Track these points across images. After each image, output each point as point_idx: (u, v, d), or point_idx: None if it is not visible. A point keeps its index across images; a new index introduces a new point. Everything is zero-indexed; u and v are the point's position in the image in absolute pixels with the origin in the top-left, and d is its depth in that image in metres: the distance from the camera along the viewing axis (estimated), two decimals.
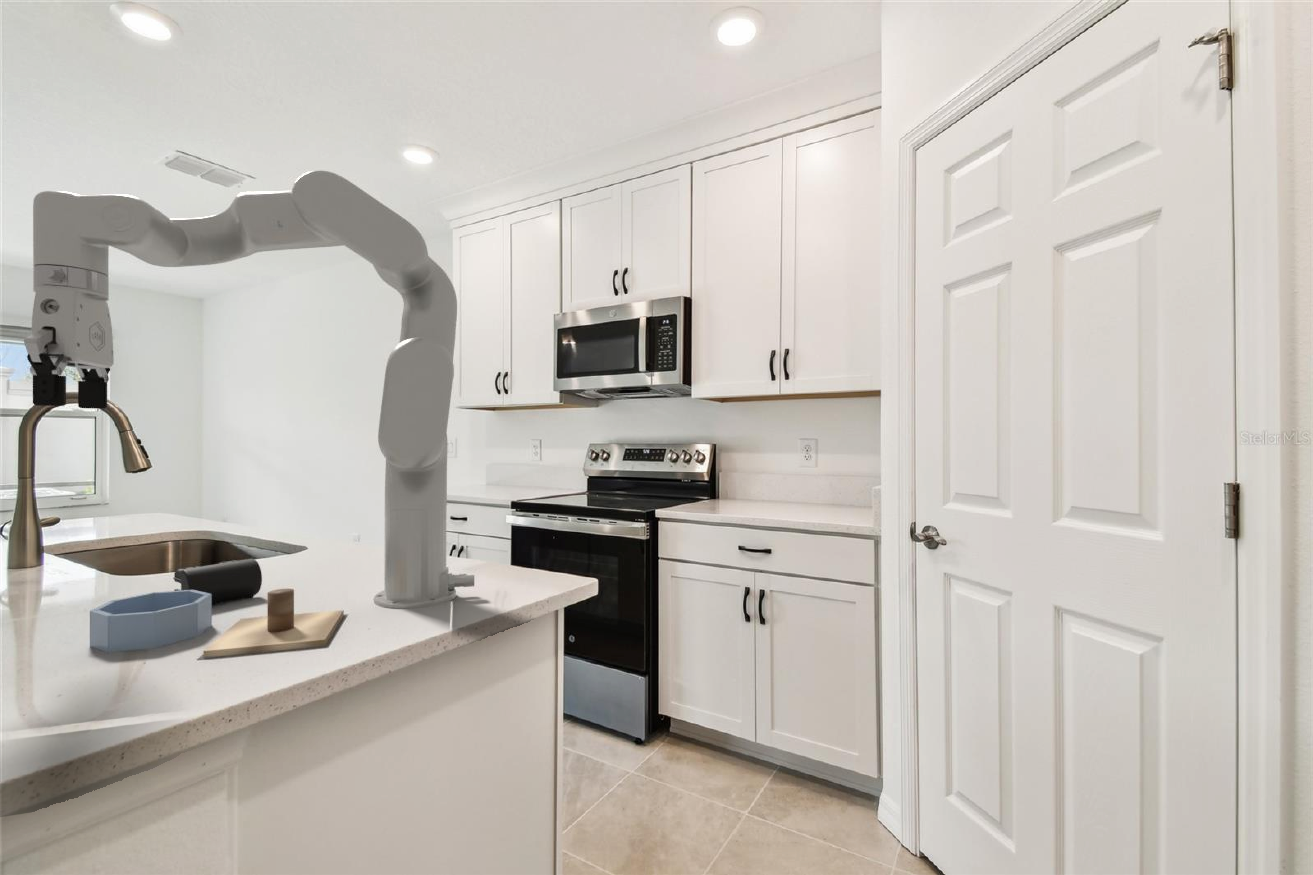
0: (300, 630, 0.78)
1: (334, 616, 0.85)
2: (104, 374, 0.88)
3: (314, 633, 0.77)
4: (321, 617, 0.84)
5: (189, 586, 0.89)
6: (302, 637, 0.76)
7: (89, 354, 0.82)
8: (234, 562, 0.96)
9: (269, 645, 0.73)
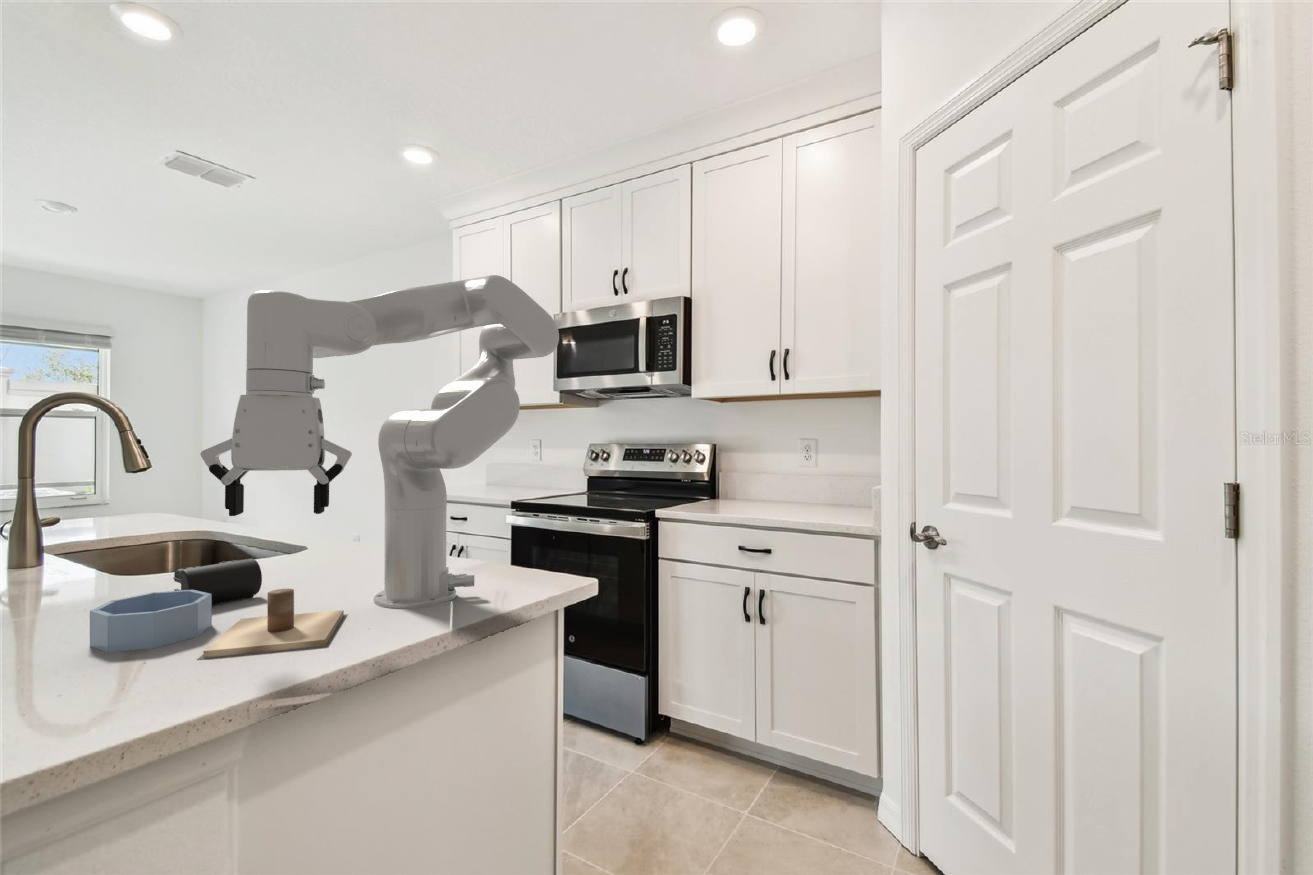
0: (300, 630, 0.78)
1: (334, 616, 0.85)
2: None
3: (314, 633, 0.77)
4: (321, 617, 0.84)
5: (189, 586, 0.89)
6: (302, 637, 0.76)
7: None
8: (234, 562, 0.96)
9: (269, 645, 0.73)
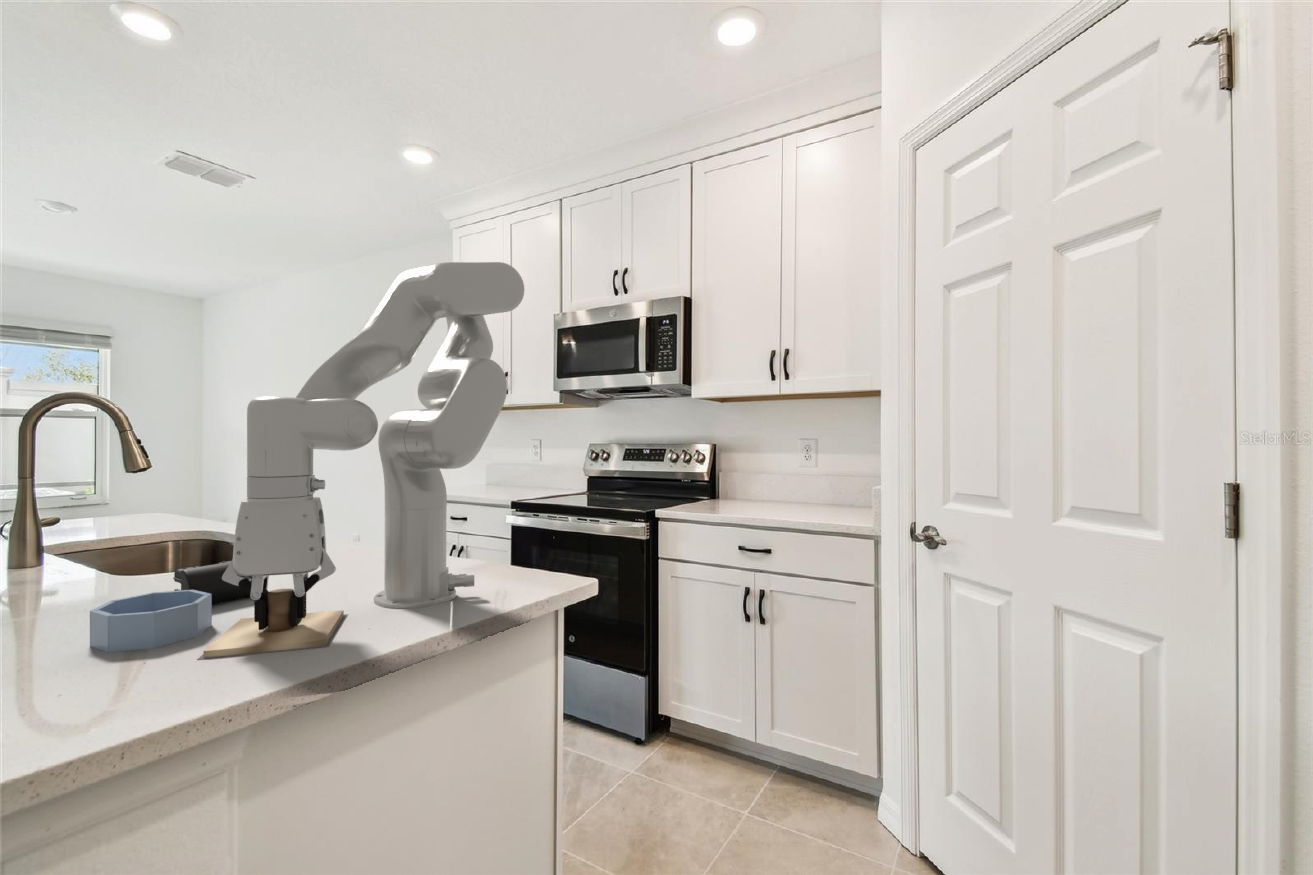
0: (300, 630, 0.78)
1: (334, 616, 0.85)
2: None
3: (314, 633, 0.77)
4: (321, 617, 0.84)
5: (189, 586, 0.89)
6: (302, 638, 0.76)
7: None
8: None
9: (269, 645, 0.73)
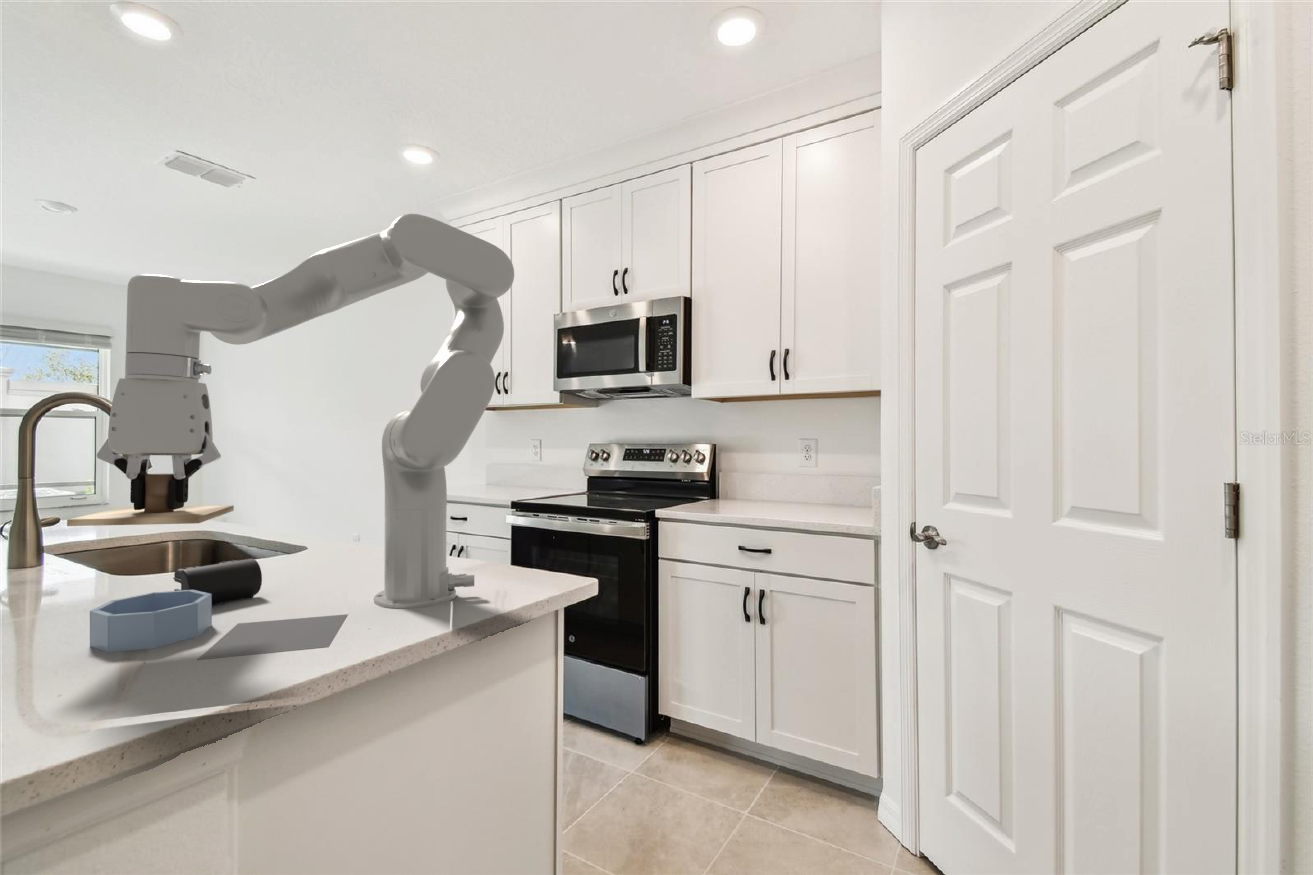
0: (178, 513, 0.77)
1: (221, 507, 0.84)
2: None
3: (191, 514, 0.76)
4: (207, 507, 0.83)
5: (189, 586, 0.89)
6: (176, 515, 0.75)
7: None
8: (234, 562, 0.96)
9: (138, 518, 0.72)
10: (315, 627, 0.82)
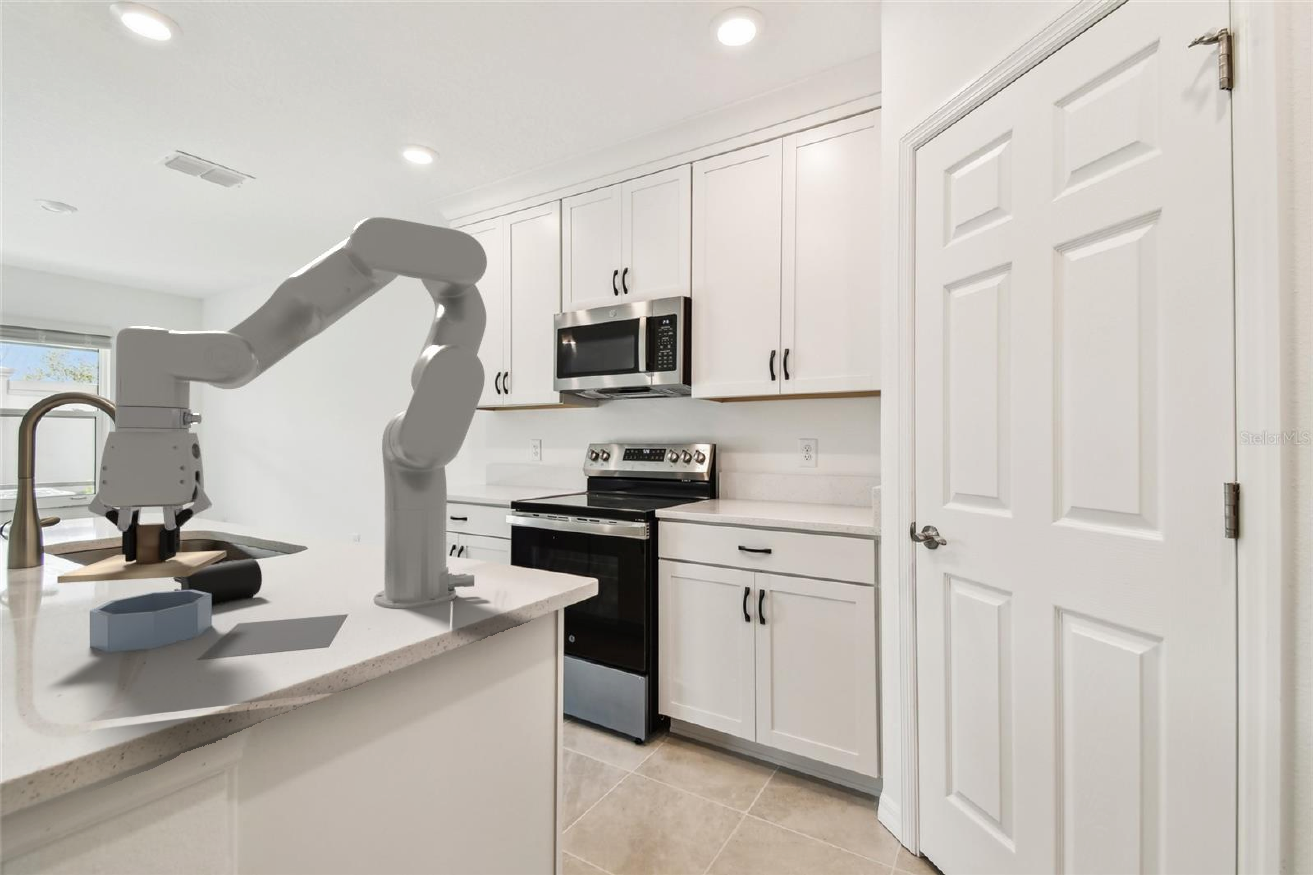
0: (169, 564, 0.78)
1: (213, 554, 0.84)
2: None
3: (181, 565, 0.77)
4: (199, 555, 0.83)
5: (189, 586, 0.89)
6: (166, 568, 0.75)
7: None
8: (234, 562, 0.96)
9: (128, 573, 0.72)
10: (315, 627, 0.82)
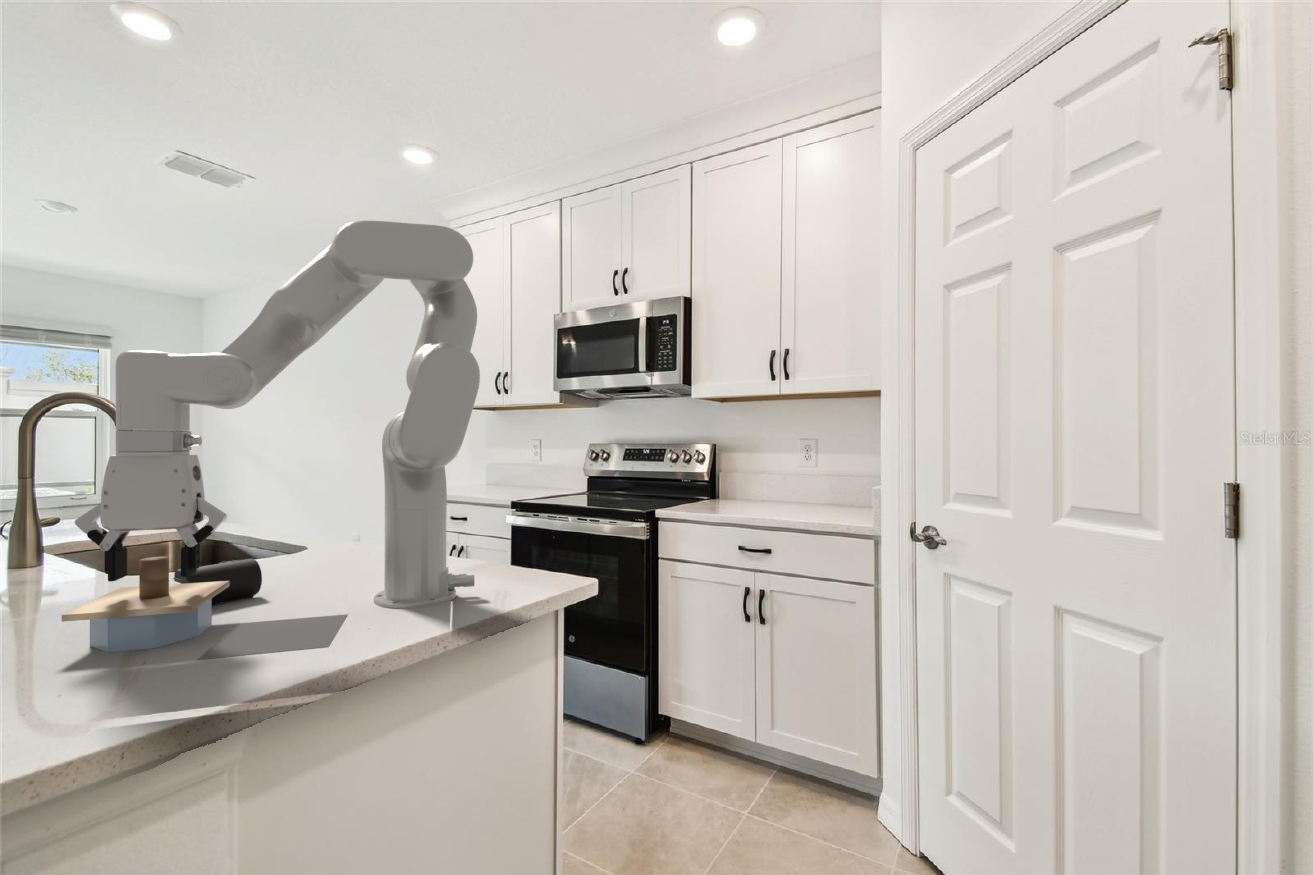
0: (172, 598, 0.78)
1: (216, 585, 0.84)
2: None
3: (185, 600, 0.77)
4: (202, 586, 0.83)
5: None
6: (169, 604, 0.75)
7: None
8: (234, 562, 0.96)
9: (132, 610, 0.73)
10: (315, 627, 0.82)
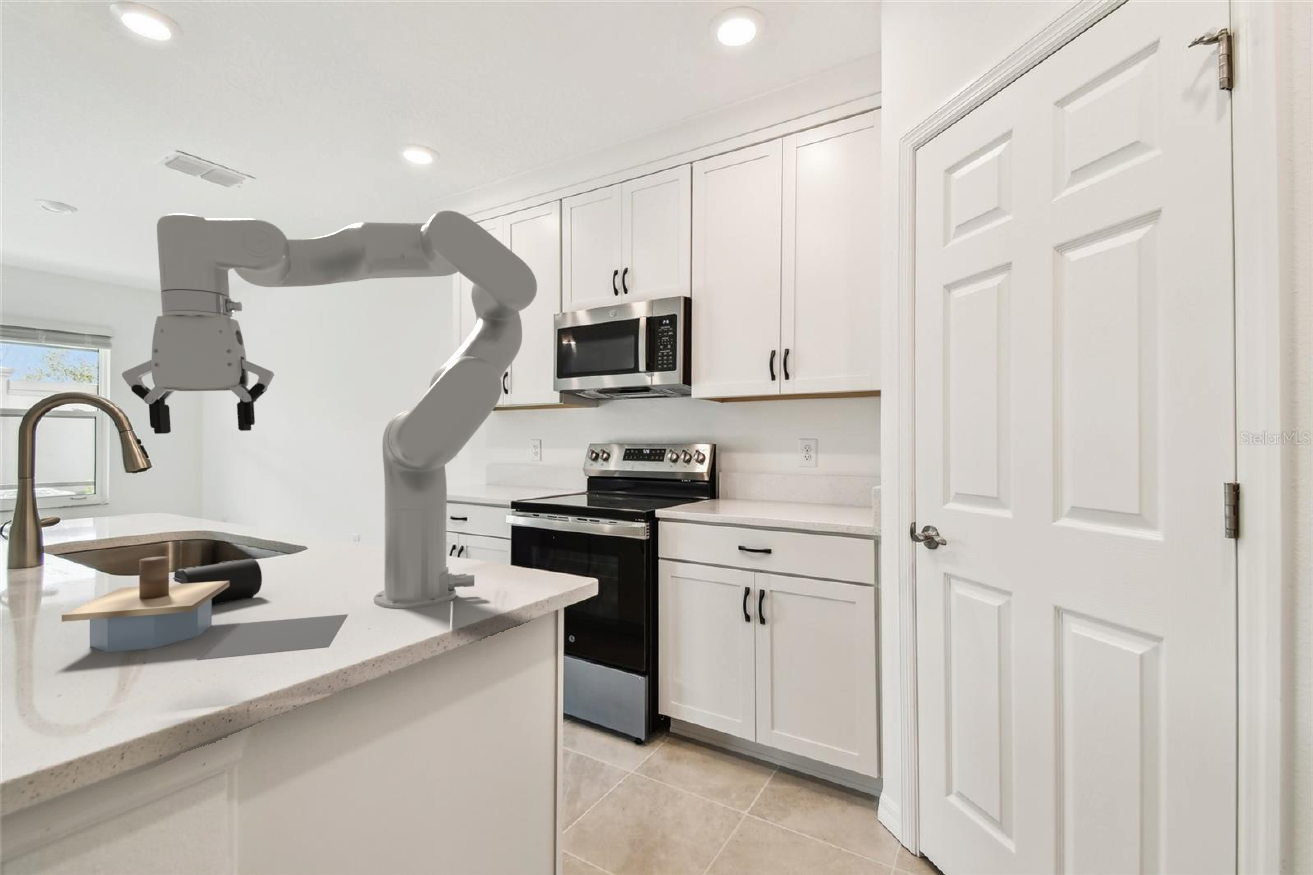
0: (172, 598, 0.78)
1: (216, 585, 0.84)
2: None
3: (185, 600, 0.77)
4: (202, 586, 0.83)
5: None
6: (169, 604, 0.75)
7: None
8: (234, 562, 0.96)
9: (132, 610, 0.73)
10: (315, 627, 0.82)
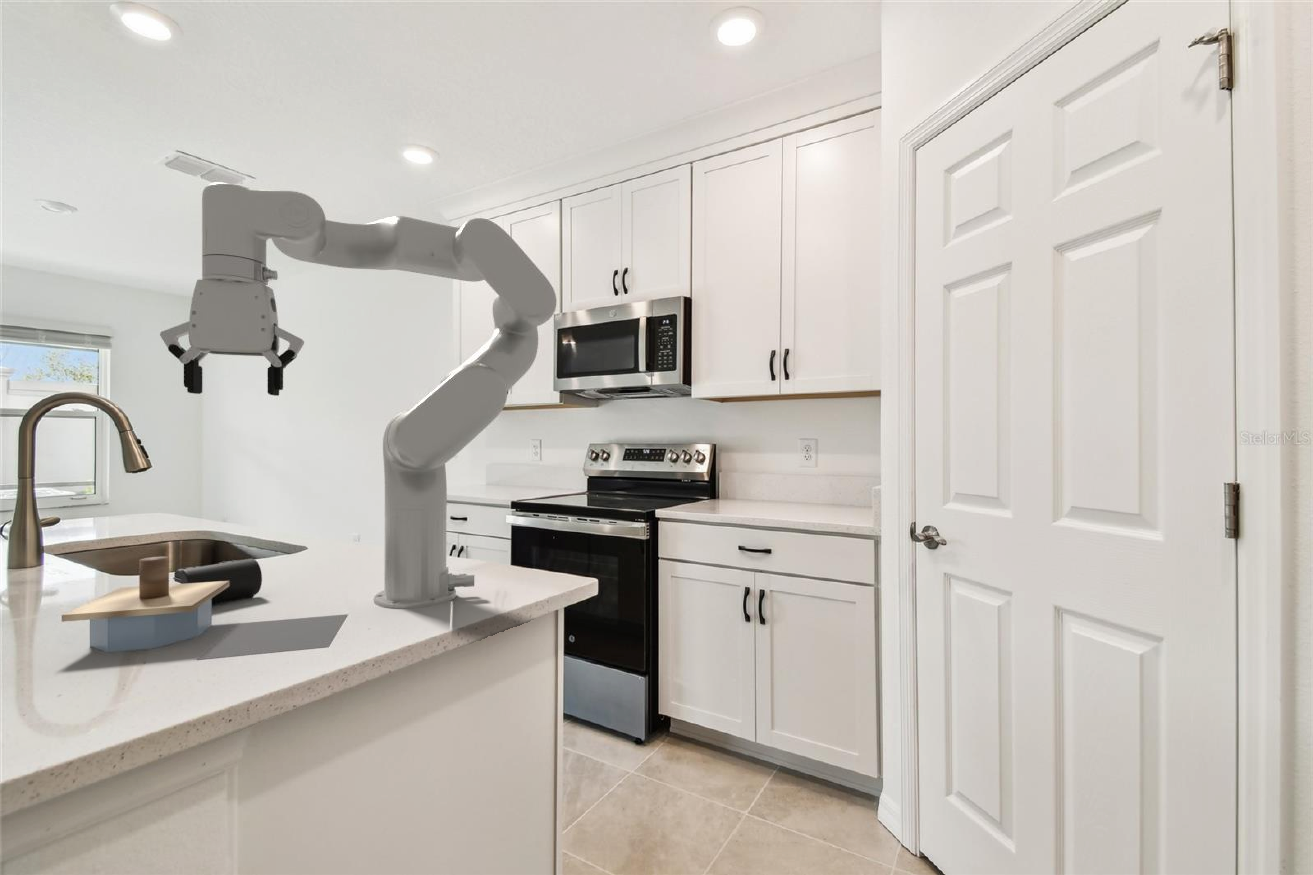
0: (172, 598, 0.78)
1: (216, 585, 0.84)
2: None
3: (185, 600, 0.77)
4: (202, 586, 0.83)
5: None
6: (169, 604, 0.75)
7: None
8: (234, 562, 0.96)
9: (132, 610, 0.73)
10: (315, 627, 0.82)
